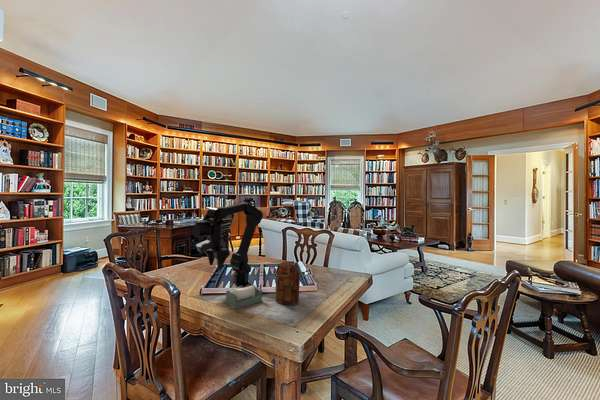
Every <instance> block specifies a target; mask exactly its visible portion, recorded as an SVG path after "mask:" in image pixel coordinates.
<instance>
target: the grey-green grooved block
mask: <svg viewBox="0 0 600 400" xmlns="http://www.w3.org/2000/svg"><path fill="white" fill-rule="evenodd" d="M250 286H253V287H254V289H255V297H253V298H249V299H245V300H241V301H238V302H237V296H235V295H234V294H232V291H230V290H226V291H225V294H226V295H225V303H226V304H227V305H228V306H230V307H231V308H233V309H234V310H236V309H239V308H243V307H246V306H250V305H253V304H257V303H261V302H262V296H263V295H262V294H263V291H262V289H260V288H259V287H257V286H255V285H253V284H250Z"/></svg>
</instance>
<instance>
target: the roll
mask: <svg viewBox="0 0 600 400" xmlns="http://www.w3.org/2000/svg"><path fill="white" fill-rule="evenodd" d="M231 293H232V294H234V295H235V296H237V302H238V301H241V300H245V299H249V298H253V297H255V289H254V287H253V286H251V285H249V286H245V287H241V288H237V289H233V290H232V291H231Z"/></svg>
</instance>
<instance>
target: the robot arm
mask: <svg viewBox="0 0 600 400" xmlns="http://www.w3.org/2000/svg"><path fill="white" fill-rule="evenodd" d="M241 212H242V213H243V214H244V215H245V222H246V225H245V229H244V230H243V233H242V237H241V240H240V244H239V246H238V249H237V251H236V252H235V253H231V251H230V249H228V248H226V247H224V244H222V243H223V240H224V236H222V235H223V228H222V227H223V225H226V224H227V222H226V221H225V220H224V219H226V218H227V217H228V216H230V215H234V214H237V213H241ZM263 217H264V213H263V212H262V210H260V209H259V208H257V207H256V206H254V205H253V204H251V203H250V202H249V201H248V202H247V201H241V202H240V203H239V202H238V203H235V204H231V205H227V206H212V207H209V208H208V210H207V211H206V213H205V215H204V217H203V218H202V220H201V221H196V222H194V225H193V226H192V230H191V231H192V235H193V237H195V238H196V239H197V238H202V237H206V239H205V240H204V241H201V242H199V243H197V244H196V245H195V246H196V250H197V252H199V253H200V254H203V253H205V254H206V256H207V260H208V263H209V265H210V266H213V265H214V261H215V260H216V264H217V270H218V271H222V268H223V266H224V264H225V262H226V260H227V259H228V258H229V257H230V256H231V258H230V260H229V264H230V267H231V268H232V271H234V275H233V284H235V285H236V284H237V285H236V286H239V285H241V286H244V284H245V285H248V283H249V284H250V283H251V282H250V281H249V273H251V272H252V267H251V266H250V264H248V263H249V256H248V252H249V250H250V246H251V243H252V240H253V236H254V234H255V230H256V228H257V227H258V225H259V224H260V223H261V222H262V220H263ZM231 254H232V255H231ZM239 287H240V286H239Z"/></svg>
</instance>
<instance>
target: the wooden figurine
mask: <svg viewBox="0 0 600 400" xmlns="http://www.w3.org/2000/svg"><path fill="white" fill-rule="evenodd" d="M300 276H301V275H300V271H299V269H298V268H297V266H296V265H295V264H294V262H291V261H288V260H287V261H281V262H280V263H279V264H278V265H277V267H276V271H275V302H276V303H277V304H279V305H285V306H286V305H287V306H292V305H293V306H297V305H298V304H299V302H300V282H301V277H300Z"/></svg>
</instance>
